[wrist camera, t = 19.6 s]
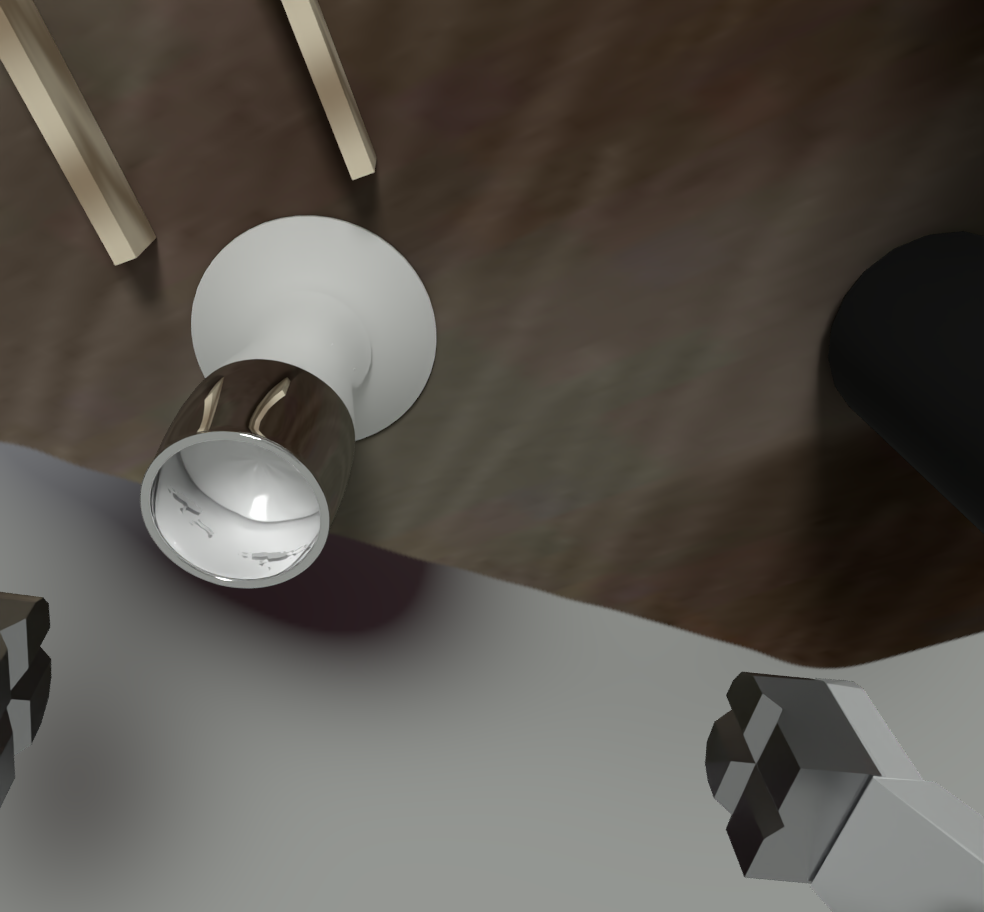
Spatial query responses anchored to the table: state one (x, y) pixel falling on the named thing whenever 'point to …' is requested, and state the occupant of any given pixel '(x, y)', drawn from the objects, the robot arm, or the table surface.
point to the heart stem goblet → (262, 448)
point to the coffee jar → (921, 360)
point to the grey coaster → (339, 273)
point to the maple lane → (83, 149)
